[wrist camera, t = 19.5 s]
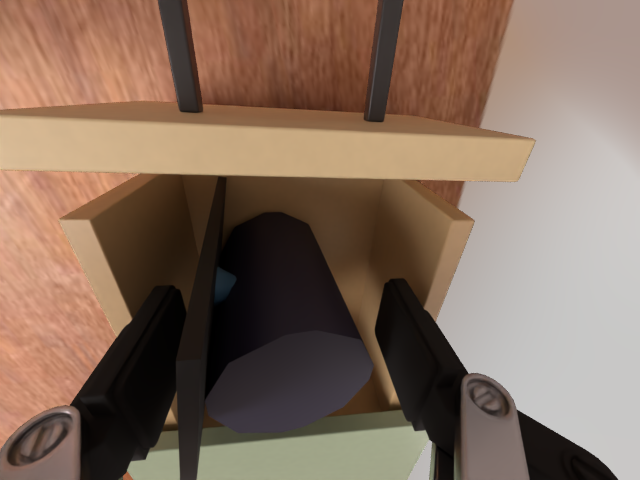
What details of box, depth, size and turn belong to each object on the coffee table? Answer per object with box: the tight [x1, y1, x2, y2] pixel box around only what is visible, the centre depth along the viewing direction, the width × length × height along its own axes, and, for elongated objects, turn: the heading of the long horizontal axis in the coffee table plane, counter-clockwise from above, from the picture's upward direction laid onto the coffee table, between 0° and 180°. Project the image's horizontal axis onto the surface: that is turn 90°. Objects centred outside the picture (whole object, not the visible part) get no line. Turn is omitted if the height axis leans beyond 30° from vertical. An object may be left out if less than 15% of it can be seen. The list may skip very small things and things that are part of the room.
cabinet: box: [127, 409, 429, 480], centre depth 20 cm, size 17×15×10 cm
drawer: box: [0, 0, 535, 432], centre depth 12 cm, size 21×13×8 cm, turn 177°
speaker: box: [176, 176, 374, 480], centre depth 11 cm, size 8×6×10 cm
